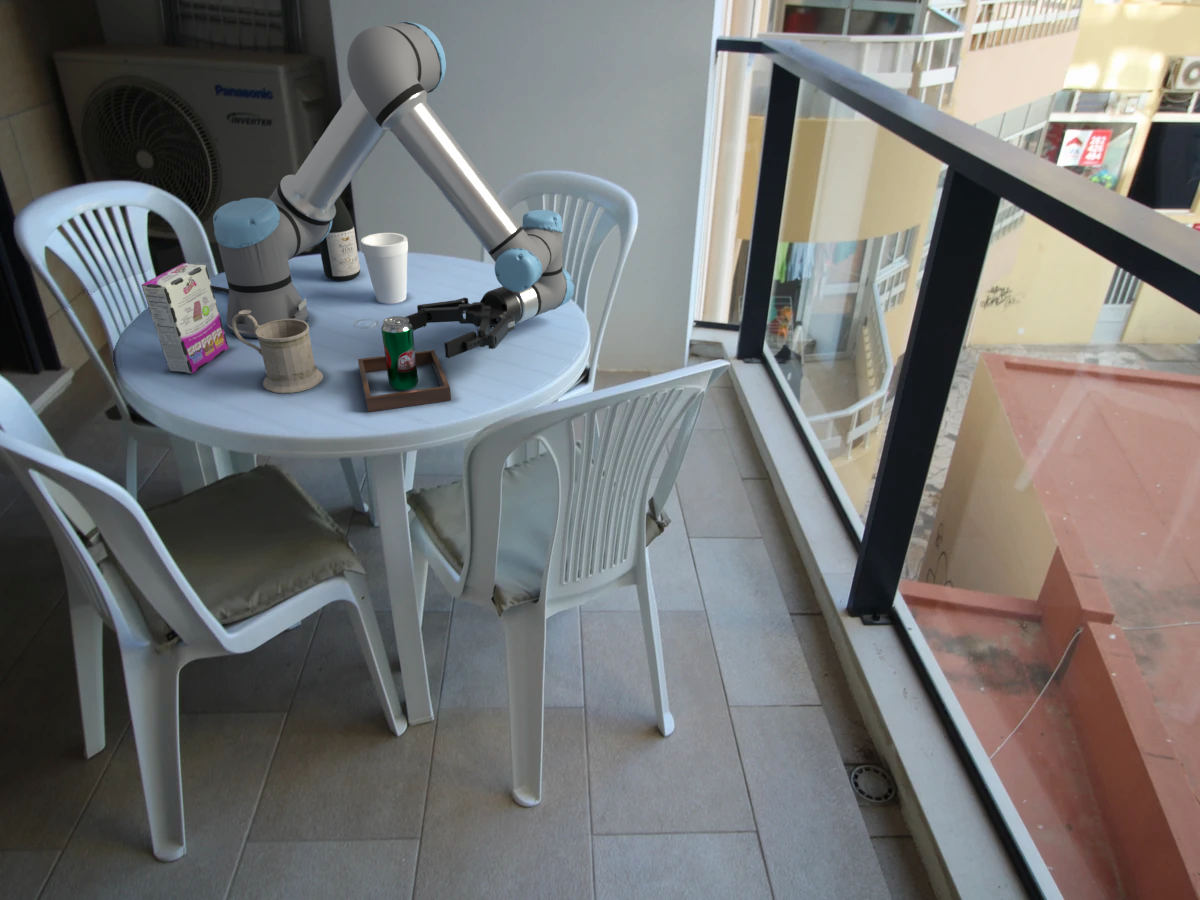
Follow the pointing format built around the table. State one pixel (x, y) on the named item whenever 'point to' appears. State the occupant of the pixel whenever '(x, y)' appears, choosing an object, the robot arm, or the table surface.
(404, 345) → the soda can
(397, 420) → the table surface
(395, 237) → the foam cup
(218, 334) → the candy bar box
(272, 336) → the mug
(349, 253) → the wine bottle
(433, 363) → the square wooden frame
